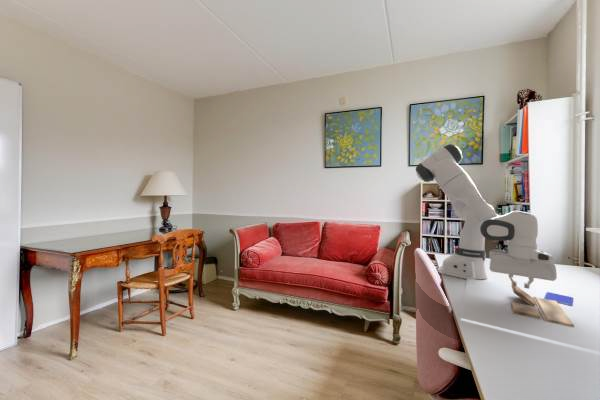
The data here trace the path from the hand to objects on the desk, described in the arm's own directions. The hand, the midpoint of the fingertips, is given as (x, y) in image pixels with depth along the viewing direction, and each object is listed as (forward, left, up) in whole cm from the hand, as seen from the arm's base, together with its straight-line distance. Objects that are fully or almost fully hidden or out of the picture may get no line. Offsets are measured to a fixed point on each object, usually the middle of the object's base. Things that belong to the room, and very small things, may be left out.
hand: (520, 286), depth 105 cm
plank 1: (+1, 0, -4) cm, 4 cm away
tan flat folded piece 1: (0, -12, -6) cm, 13 cm away
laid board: (+8, -6, -6) cm, 12 cm away
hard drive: (+13, +12, -7) cm, 19 cm away
